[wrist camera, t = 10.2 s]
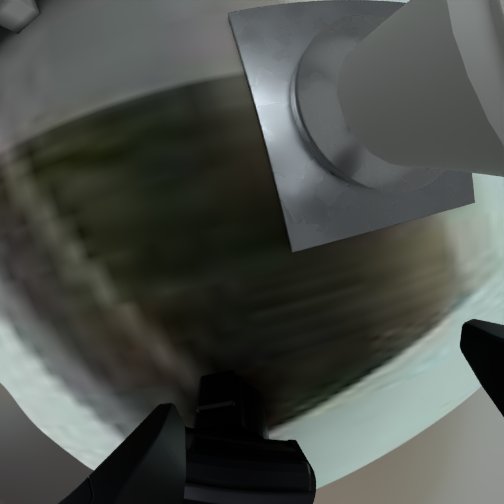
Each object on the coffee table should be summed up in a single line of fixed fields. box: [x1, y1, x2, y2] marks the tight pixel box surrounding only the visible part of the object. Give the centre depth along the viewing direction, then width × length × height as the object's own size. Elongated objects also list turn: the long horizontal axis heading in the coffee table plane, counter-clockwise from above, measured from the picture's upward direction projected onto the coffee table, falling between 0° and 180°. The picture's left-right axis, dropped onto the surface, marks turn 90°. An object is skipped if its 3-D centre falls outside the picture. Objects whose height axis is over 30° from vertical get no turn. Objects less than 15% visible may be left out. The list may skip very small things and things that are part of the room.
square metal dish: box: [228, 0, 475, 252], centre depth 16 cm, size 16×15×4 cm
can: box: [338, 0, 504, 177], centre depth 9 cm, size 8×8×12 cm
